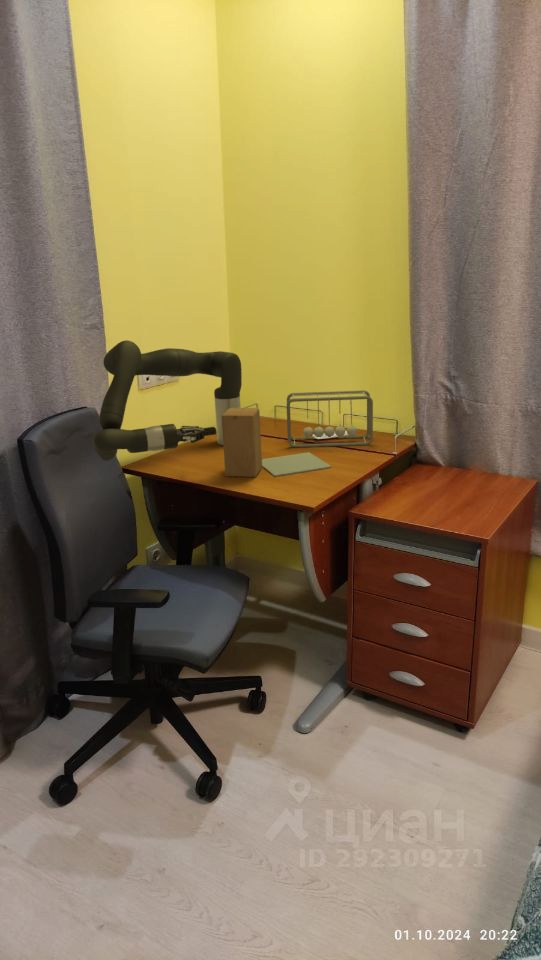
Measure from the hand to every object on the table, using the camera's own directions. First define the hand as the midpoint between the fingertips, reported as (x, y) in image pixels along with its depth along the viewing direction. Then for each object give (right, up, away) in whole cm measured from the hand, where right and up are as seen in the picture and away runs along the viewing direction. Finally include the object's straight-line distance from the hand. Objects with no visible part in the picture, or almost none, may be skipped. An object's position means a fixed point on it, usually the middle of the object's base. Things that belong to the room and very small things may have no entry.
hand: (215, 430), depth 220 cm
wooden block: (+9, -13, +8) cm, 17 cm away
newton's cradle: (+38, -2, +36) cm, 53 cm away
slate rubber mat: (+24, -10, +13) cm, 29 cm away
